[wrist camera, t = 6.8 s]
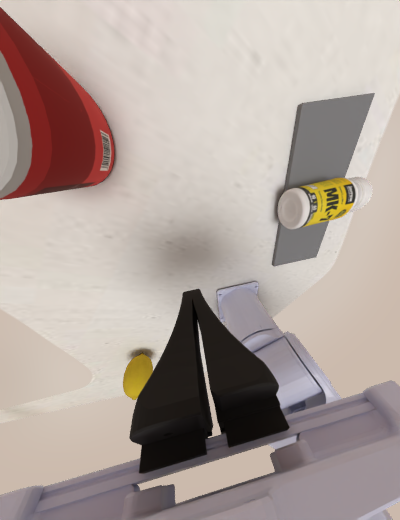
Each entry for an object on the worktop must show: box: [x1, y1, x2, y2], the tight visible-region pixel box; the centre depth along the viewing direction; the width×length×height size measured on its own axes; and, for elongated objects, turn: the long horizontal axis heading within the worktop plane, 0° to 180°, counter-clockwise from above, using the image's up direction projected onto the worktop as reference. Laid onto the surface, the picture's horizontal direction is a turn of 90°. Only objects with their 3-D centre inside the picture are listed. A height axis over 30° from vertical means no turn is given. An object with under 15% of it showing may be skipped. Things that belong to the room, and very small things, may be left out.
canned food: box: [0, 7, 114, 200], centre depth 8 cm, size 8×8×11 cm
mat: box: [272, 93, 375, 266], centre depth 20 cm, size 20×8×1 cm, turn 8°
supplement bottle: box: [278, 177, 372, 229], centre depth 17 cm, size 5×5×8 cm
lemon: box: [123, 353, 153, 400], centre depth 29 cm, size 6×6×8 cm
